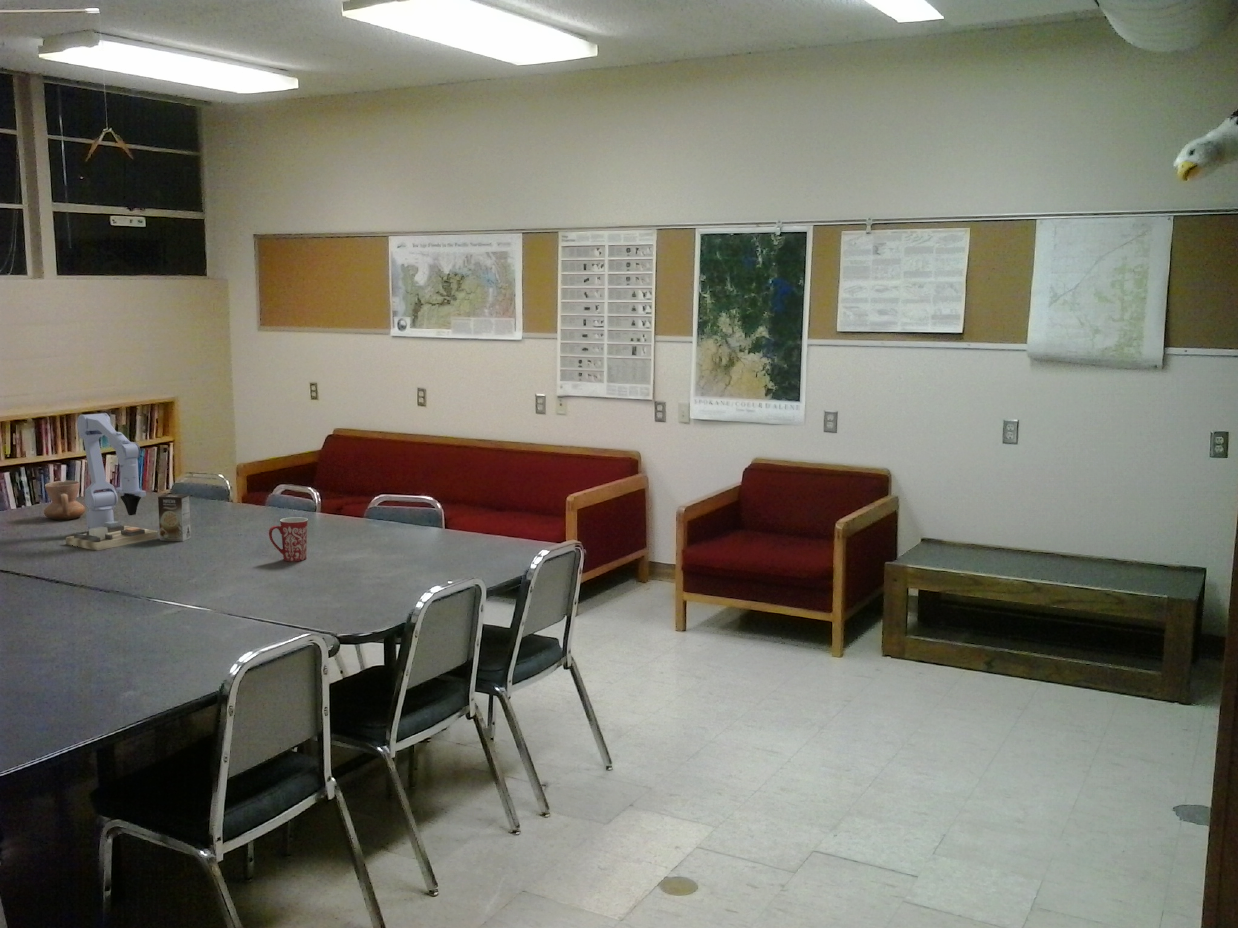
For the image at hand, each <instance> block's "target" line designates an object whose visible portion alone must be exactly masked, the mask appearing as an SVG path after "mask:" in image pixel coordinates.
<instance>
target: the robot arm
mask: <svg viewBox="0 0 1238 928" xmlns="http://www.w3.org/2000/svg"><path fill="white" fill-rule="evenodd" d="M76 428H77V431H78V435H79V436H78V437H79V438H80V439H82V440H83V445H84V450H85V457H86V461H87V462H86V463H87V467H88V473H89V477H90V482H91V483H90V485H88V486H87V488H86V489H85V490H84V504H85V506H86V507H87V508H88V509H89V510H87V512H86V517H85V518H86V530H85V533H86V531H89V529H91V528H96V527H102V526H105V525H104V523H105V522H110V521H115V519H114V509H115V507H116V506H117V505H118V500H119V497H120V499H121V501H122V503H123V504H124V506H125V509H126V511H127V514H128V515H127V516H135V515H136V514H137V510H138V506H139V503H140V501H141V499H142V498H144V497H147V491H146V490H143V489H142V488H140V480H139V462H138V461H139V460H138V459H140V457H141V453H142V452H141V448H140V445H139V444H138V443H137V442H133V441H130V440H129V439H128V438H127V437H126V436H125V435H124V434H123V433H122V431H117V430H116V429H115V428H114V427H113V425H112V422H111V417H110V415H108V413H106V412H100V413H90V414H80V415H78V417H77V421H76ZM104 436H105V437H106V438H107V443H108V444H109V446H111V448H112V449H113V450H114V451H115V455H116V458H117V463H118V465H119V467H120V481H121V482H120V483H121V486H118V487H115V486H114V485H113V484H112V483H110V482H108V481H107V476H106V472H105V467H104V463H103V457H102V451H101V446H100V441H99V440H100V438H102V437H104ZM118 494H123V495H121V496H118Z"/></svg>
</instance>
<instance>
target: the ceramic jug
mask: <svg viewBox="0 0 1238 928" xmlns="http://www.w3.org/2000/svg"><path fill="white" fill-rule="evenodd" d="M80 485H81V484H80V481H78V480H64V481H62V480H57V481H52V482H47V483H46V484H45V485H44V488H45V491H46V493H47V495H48V498H49V499H50V500H51V503H50V504H49V505H48V506H47V507H45V508H44V511H43V514H44V516H45V517H47V518H48V519H50V520H55V521H66V520H74V519H77V518H79V517H81V516H83V515H84V514H85V511H86V508H85V506H84V505H83V504H82V503H80V502H79V501H77V496H78V494H79V490H80Z"/></svg>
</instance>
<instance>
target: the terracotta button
mask: <svg viewBox="0 0 1238 928" xmlns="http://www.w3.org/2000/svg"><path fill="white" fill-rule="evenodd" d="M132 527H133V528H128V529H125V531H129V532H133V531H138V530H140V528H141V527H137V528H135V527H136V526H132Z"/></svg>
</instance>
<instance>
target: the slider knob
mask: <svg viewBox="0 0 1238 928" xmlns="http://www.w3.org/2000/svg"><path fill="white" fill-rule="evenodd" d="M105 534H108V530H107V527H96V528H91V529H89V535H91V536H94V537H99V538H100V540H103V539H105Z"/></svg>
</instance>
